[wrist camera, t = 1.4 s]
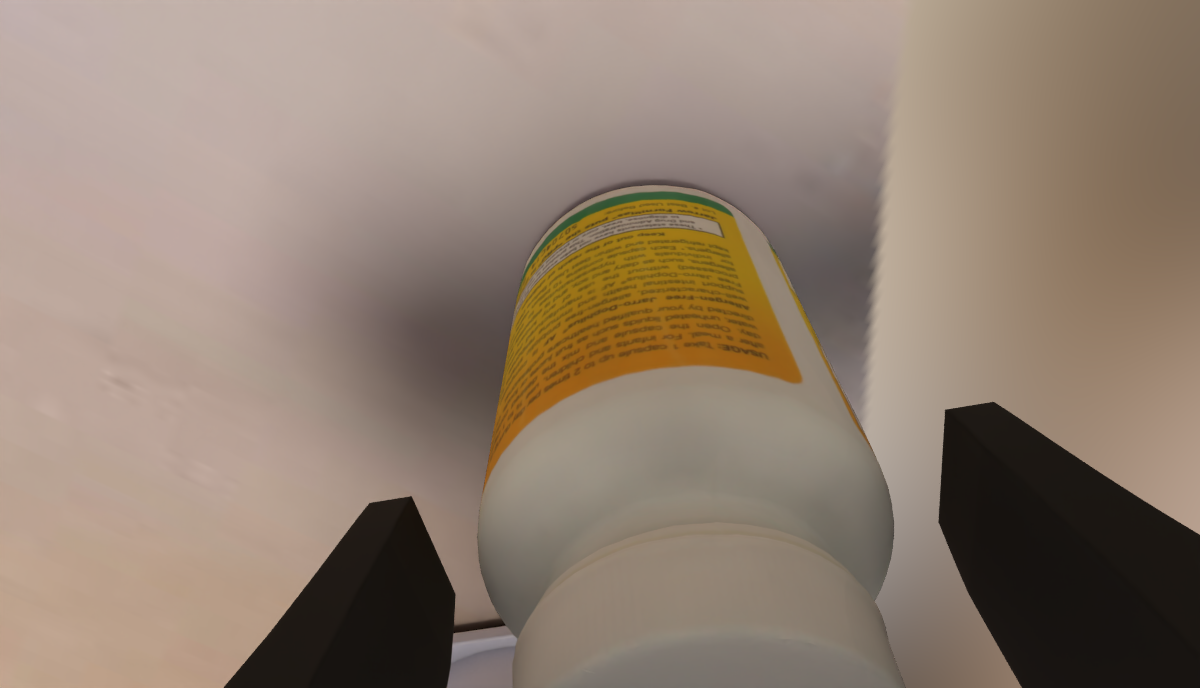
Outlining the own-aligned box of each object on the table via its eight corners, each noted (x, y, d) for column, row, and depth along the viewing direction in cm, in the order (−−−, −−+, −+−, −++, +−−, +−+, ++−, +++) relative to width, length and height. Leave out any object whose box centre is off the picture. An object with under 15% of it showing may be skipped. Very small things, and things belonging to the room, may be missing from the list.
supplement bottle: (833, 286, 15) (1112, 747, 7) (655, 443, 18) (718, 939, 9) (636, 114, 14) (716, 479, 5) (464, 314, 16) (332, 796, 7)
